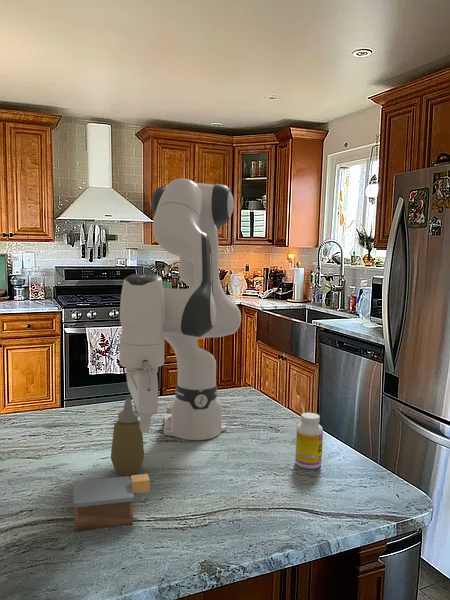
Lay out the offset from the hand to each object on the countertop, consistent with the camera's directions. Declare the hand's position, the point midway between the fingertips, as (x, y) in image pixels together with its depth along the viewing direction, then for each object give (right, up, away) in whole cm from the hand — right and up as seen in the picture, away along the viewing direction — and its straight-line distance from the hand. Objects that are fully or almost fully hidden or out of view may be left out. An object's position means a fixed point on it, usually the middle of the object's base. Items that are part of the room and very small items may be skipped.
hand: (141, 422), depth 106 cm
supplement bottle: (+38, -17, +28) cm, 50 cm away
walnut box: (-8, -19, 0) cm, 21 cm away
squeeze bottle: (-7, -17, +21) cm, 28 cm away
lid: (-6, -15, 0) cm, 16 cm away
